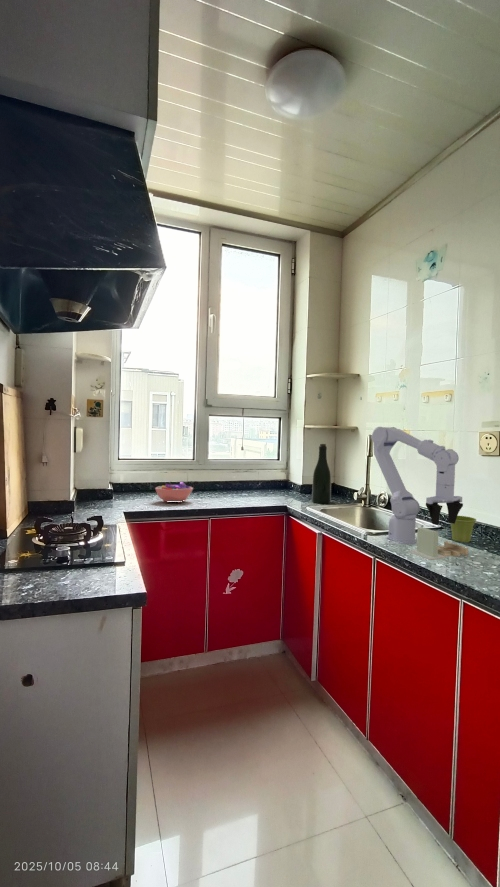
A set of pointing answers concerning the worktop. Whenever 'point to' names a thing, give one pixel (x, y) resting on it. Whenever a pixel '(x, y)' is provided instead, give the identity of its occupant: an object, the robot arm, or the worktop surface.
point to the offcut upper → (444, 551)
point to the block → (427, 542)
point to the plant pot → (462, 528)
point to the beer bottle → (322, 478)
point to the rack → (454, 549)
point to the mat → (426, 555)
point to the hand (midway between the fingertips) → (443, 523)
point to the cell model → (174, 492)
